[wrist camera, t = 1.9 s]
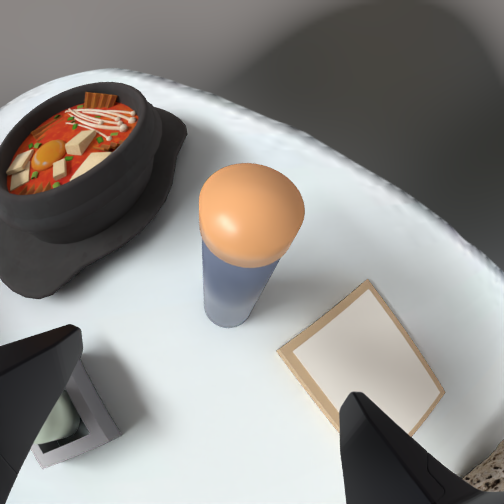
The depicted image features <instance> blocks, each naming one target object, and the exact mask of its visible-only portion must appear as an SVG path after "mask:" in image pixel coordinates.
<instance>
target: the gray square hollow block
mask: <svg viewBox="0 0 504 504" xmlns="http://www.w3.org/2000/svg"><path fill="white" fill-rule="evenodd" d="M65 388H66V390H67V392H68V394H69V396H70V398H71V400H72V402H73V404H74V406H75V408H76V410H77V412H78V414H79V415H80V417H81V419H82V421H83V423H84V424H85V426H86V428H87V429H88V431H89V433H90V434H88V435H86V436H84V437H82V438H80V439H77V440H75V441H73V442H71V443H68V444H66V445H64V446H61V447H60V445H59V444H58V442H57V440H55V441H51V442H46V443H42V444H33V445H32V447H31V451H32V452H33V454H34V456H35V458H36V459H37V461H38V463H39V464H40V466H41V468H42V469H44V468H47V467H50V466H52V465H55V464H58V463H60V462H63V461H65V460H68V459H70V458H73V457H75V456H78V455H80V454H83V453H85V452H87V451H90V450H92V449H94V448H96V447H99V446H101V445H103V444H105V443H108V442H110V441H112V440H114V439H116V438H117V437H119V436H121V435H122V434H121V432H120V431H119V429H118V427H117V426H116V424H115V423H114V421H113V420H112V418H111V416H110V415H109V413H108V411H107V410H106V408H105V406H104V404H103V403H102V401H101V399H100V397H99V395H98V394H97V392H96V390H95V388H94V386H93V384H92V382H91V380H90V378H89V376H88V374H87V372H86V370H85V368H84V366H83V364H82V362H81V360H80V359H79V361H78V363H77V365H76V367H75V369H74V371H73V373H72V375H71V377H70V379H69V381H68V383H67V385H66V387H65Z"/></svg>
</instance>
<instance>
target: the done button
mask: <svg viewBox="0 0 504 504" xmlns="http://www.w3.org/2000/svg"><path fill="white" fill-rule="evenodd" d="M79 423H80V415H79V414H78V412H77V410H76V408H75V406H74V404H73V402H72V400H71V398H70V396H69V394H68V392H67V391H65V390H64V391H63V392H62V394H61V396H60V397H59V399H58V401H57V402H56V404H55V406H54V407H53V409H52V411H51V413H50V414H49V416H48V418H47V420H46V421H45V423H44V425H43V427H42V428H41V430H40V432H39V434H38V436H37V438H36V439H35V441H34V443H33V444H42V443H46V442H51V441H55V440H58V439H62V438H66V437H69V436H71V435H73V434H74V433H75V432H76V431H77V429H78V427H79Z"/></svg>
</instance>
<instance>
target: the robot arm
mask: <svg viewBox="0 0 504 504" xmlns="http://www.w3.org/2000/svg"><path fill="white" fill-rule="evenodd" d="M82 352H83V342H82V333H81V329H80V328H79V327H76V326H74V325H72V324H68V325H65V326H62V327H59V328H56V329H53V330H50V331H47V332H43V333H40V334H37V335H34V336H31V337H28V338H25V339H22V340H18V341H15V342H12V343H9V344H6V345H3V346H0V504H5V503H6V500H7V498H8V496H9V493H10V491H11V489H12V487H13V484H14V482H15V480H16V478H17V476H18V473H19V471H20V469H21V467H22V465H23V463H24V461H25V459H26V457H27V455H28V453H29V451H30V449H31V447H32V445H33V443H34V441H35V439H36V438H37V436H38V434H39V432H40V430H41V428H42V427H43V425H44V423H45V421H46V420H47V418H48V416H49V414H50V413H51V411H52V409H53V407H54V406H55V404H56V402H57V401H58V399H59V397H60V396H61V394H62V392H63V391H64V389H65V387H66V385H67V383H68V381H69V379H70V377H71V375H72V373H73V371H74V369H75V367H76V365H77V363H78V361H79V359H80V357H81V355H82ZM339 426H340V453H341V461H342V469H343V477H344V486H345V495H346V504H504V491H500V492H486V491H481V490H479V489H476V488H475V487H473V486H472V485H470V484H469V483H467V482H466V481H464V480H463V479H461V478H460V477H459V476H457V475H456V474H454V473H453V472H452V471H450V470H449V469H448V468H446V467H445V466H444V465H442V464H441V463H440V462H439V461H438V460H436V459H435V458H434V457H433V456H432V455H431V454H430V453H427V451H426V450H425V449H424V448H423V447H422V446H421V445H419V444H418V443H417V442H416V441H415V440H414V439H413V438H412V437H411V436H410V435H408V434H407V433H406V432H405V431H404V430H403V429H402V428H401V427H400V426H399V425H397V424H396V423H395V422H394V421H393V420H392V419H391V418H390V417H389V416H388V415H387V414H385V413H384V412H383V411H382V410H381V409H380V408H379V407H378V406H377V405H376V404H375V403H374V402H373V401H372V400H370V399H369V398H368V397H367V396H366V395H365V394H364V393H363V392H355V391H353V392H350V393H349V395H348V396H347V398H346V399H345V401H344V403H343V404H342V406H341V407H340V410H339Z"/></svg>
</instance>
